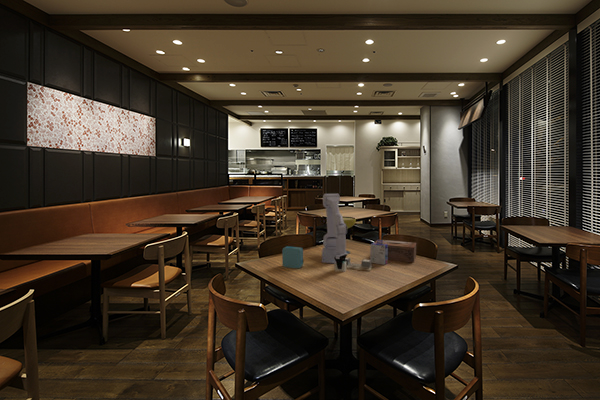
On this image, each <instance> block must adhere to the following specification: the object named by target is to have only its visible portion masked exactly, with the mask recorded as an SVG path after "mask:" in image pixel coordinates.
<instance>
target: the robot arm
mask: <svg viewBox="0 0 600 400" xmlns="http://www.w3.org/2000/svg"><path fill="white" fill-rule="evenodd" d="M340 197H341V196H340V194H339V193H324V194H323V195H322V205H323V207H324V208H325V211H326V212H325V213H326V230H327V231H326V232H327V233H326V234H324V235H323V238H322V239H323V241H322V244H323V245H322V246H323V248H322V250H321V263H328V264H334V265H335V262H336V263H337V268H338V269H342V263H343V261H345V258H347V257H348V255H349V254H348V253H346V251H347V250H346V248H347V247H346V246H347V244H346V242H347V241H346V240H347V239H346V235H347V234H348V229H347V226H346V224H345V223H344V221H343V217H344V216H343V215H342V214H341V212H340V208H339V203H340V200H341V198H340ZM334 225H335V226H334Z"/></svg>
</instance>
